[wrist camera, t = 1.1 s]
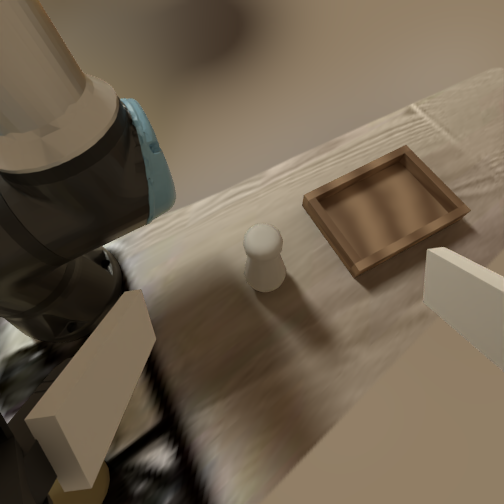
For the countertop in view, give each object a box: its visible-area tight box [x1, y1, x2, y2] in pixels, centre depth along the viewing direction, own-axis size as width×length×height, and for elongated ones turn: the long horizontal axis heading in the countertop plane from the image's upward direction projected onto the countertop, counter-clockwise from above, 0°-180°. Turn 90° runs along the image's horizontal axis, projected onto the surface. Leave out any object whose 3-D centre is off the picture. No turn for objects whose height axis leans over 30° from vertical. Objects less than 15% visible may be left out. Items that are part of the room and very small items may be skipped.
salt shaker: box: [243, 223, 286, 292], centre depth 37 cm, size 6×6×13 cm
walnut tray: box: [302, 145, 471, 278], centre depth 44 cm, size 19×14×3 cm
